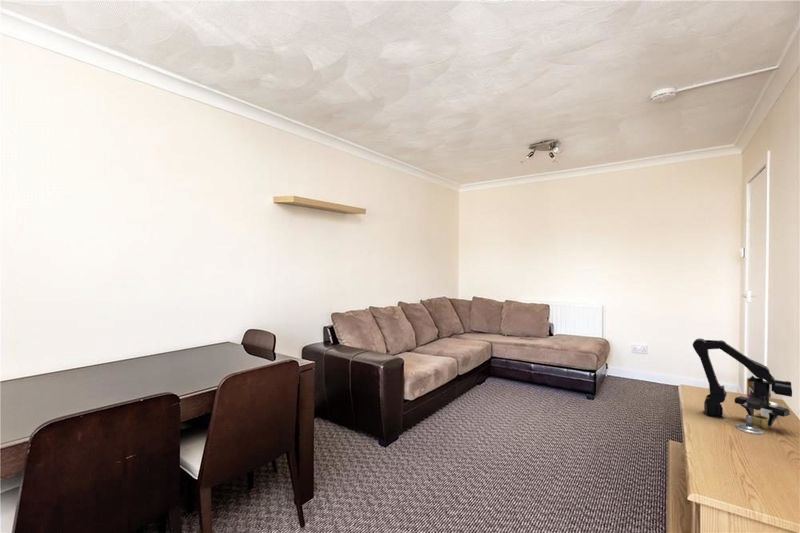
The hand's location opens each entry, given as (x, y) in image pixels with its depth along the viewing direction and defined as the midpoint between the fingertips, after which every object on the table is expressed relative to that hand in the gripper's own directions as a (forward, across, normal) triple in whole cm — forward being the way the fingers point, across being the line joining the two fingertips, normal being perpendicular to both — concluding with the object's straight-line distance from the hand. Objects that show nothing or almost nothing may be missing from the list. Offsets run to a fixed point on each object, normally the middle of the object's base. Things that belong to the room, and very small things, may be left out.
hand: (760, 423), depth 180 cm
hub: (+1, 0, -11) cm, 11 cm away
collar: (+1, 0, 0) cm, 1 cm away
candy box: (+1, -12, +27) cm, 30 cm away
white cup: (+1, -4, +18) cm, 19 cm away
